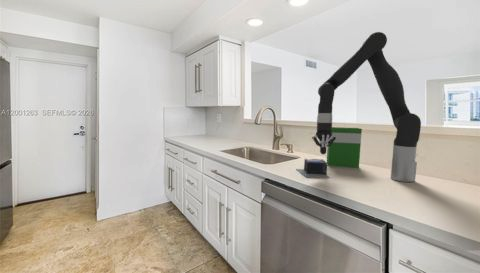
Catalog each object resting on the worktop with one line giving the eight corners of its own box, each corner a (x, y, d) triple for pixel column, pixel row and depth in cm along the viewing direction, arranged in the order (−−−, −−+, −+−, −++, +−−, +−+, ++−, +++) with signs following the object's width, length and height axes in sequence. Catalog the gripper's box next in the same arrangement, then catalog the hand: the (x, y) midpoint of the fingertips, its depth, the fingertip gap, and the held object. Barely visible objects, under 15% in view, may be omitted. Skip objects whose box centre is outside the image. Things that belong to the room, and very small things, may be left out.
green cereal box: (355, 165, 143) (358, 127, 141) (358, 167, 136) (361, 128, 133) (326, 163, 147) (328, 127, 145) (328, 165, 140) (330, 127, 138)
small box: (327, 162, 116) (306, 162, 118) (327, 174, 117) (306, 174, 118) (323, 158, 127) (304, 158, 128) (322, 170, 127) (303, 169, 129)
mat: (316, 169, 129) (316, 169, 129) (329, 177, 113) (329, 176, 113) (296, 169, 128) (296, 169, 128) (306, 177, 112) (306, 176, 112)
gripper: (315, 122, 114) (314, 155, 116) (340, 122, 115) (338, 155, 117) (309, 121, 121) (308, 152, 123) (333, 121, 122) (331, 152, 124)
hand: (323, 154), depth 120 cm, fingers closed
